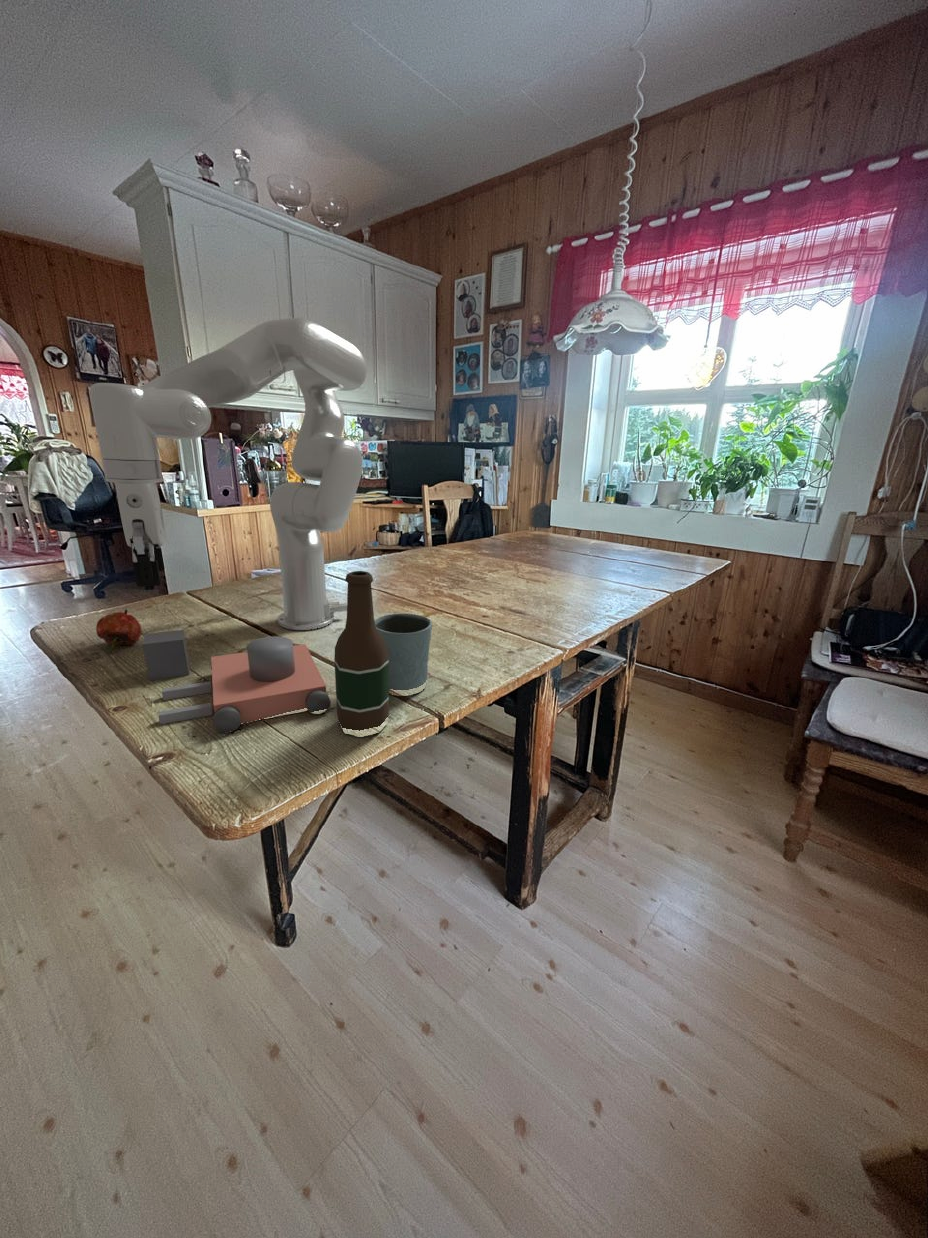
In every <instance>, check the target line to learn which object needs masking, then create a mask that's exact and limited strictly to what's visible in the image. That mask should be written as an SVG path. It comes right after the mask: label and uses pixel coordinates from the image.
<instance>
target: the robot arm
mask: <svg viewBox="0 0 928 1238" xmlns="http://www.w3.org/2000/svg"><path fill="white" fill-rule="evenodd" d="M290 371H292V372H293V375H294V378H295V381H296V382H297V385H298V387H299V389H300V391H301V394H302V397H303V401H304V416H303V419H302V423H301V425H300V427H299V428H300V429H299V432H298V435H297V438H296V441H295V445H294V447H293V451H292V454H291V467H292V470H293V472H294V473H295V474H296V475H297V476H298V477H300V478H301V479H304V480H309V481H314V482H319V484H315V483H314V484H313V483H308V482H297V481H290V482H284V483H281V484H280V485H278V486H277V487H275V488H274V489H273V490H272V491H273V492H272V493H271V496H270V499H269V507H270V508H269V509H270V513H271V517H272V521H273V523H274V527H275V531H276V535H277V536H276V537H277V543H278V554H279V564H280V565H279V566H280V577H281V578H280V579H281V587H282V599H283V613H281V614H280V615H279V616H277V623H278V625H279V626H280V627H281V628H285V629H287V630H293V631H310V630H311V629H312V630H317V628H318V629H321V627H322V628H325V627H327V626H329V625H331V624H333V622H334V621H335V615H334V614H335V613H336V612H337V613H338V612H340V613H341V612H342V613H343V612H347V602H346V603H340V602H339V601H334V602H329V601H328V599H327V588H326V573H325V572H326V571H325V570H326V569H325V568H326V567H325V550H324V543H323V540H322V537H321V534H320V532H322V533H335V532H337V531H340V530H341V529H342V528H343V527H344V526H345V524H346V522H347V520H348V519H349V515H350V512H351V510H352V506H353V504H354V500H355V498H356V494H357V491H358V488H359V484H360V481H361V478H362V477H361V476H362V474H363V468H364V467H363V464H364V463H363V455H362V452H361V450H360V448H359V445H358V444H357V443H356V442H355V441H353V440H352V439H350V438H347V437H345V436H342V435H343V431H344V427H345V415H344V410H343V409H342V406H341V403H340V401H339V399H338V397H337V395H336V392H337V391H339V392H341V391H347V392H348V391H354V390H357V389H359V388H360V387H361V386H362V385H363V384H364V383H365V381H366V378H367V371H368V370H367V363H366V360H365V357H364V355H363V354H362V352H361V351H360V349H359V348H358V347H356V346H355V345H354V344H352V342H350V341H348V340H346V339H345V338H343V337H341V336H340V335H338V334H336V333H335V332H332V331H331V330H329V329H328V328H326V327H324V326H322V325H320V324H319V323H317V322H314V321H312V320H309V319H307V318H303V317H291V318H284V319H283V318H282V319H272V320H267V321H265V322H264V321H263V322H262V323H260V324H258V325H256V326H255V327H253V328H251V329H250V330H248V331H246V332H244V333H243V334H242V335H240V336H239V337H237V338H235V339H233V340H232V341H229V342H228V343H227V344H225V345H223V346H221V347H220V348H218V349H216V350H213V351H211V352H209V353H207V354H204V355H202V356H199V357H198V358H195V359H194V360H191V361H189V362H186V363H184V364H181V365H179V366H177V367H175V368H173V369H171V370H168V371H166V372H164V373H162V374H160V375H158V376H157V377H155V378H153V379H152V380H150V381H149V382H147V383H145V384H144V385H141V386H136V385H131V384H125V383H114V382H97V383H93V384H92V385H91V386H90V388H89V392H88V395H89V400H90V405H91V411H92V417H93V421H94V425H95V427H94V428H95V431H96V437H97V443H98V447H99V452H100V457H101V463H102V468H103V472H104V479H105V482H107V483H108V482H109V483H114V484H115V485H114V486H115V490H116V491H115V492H116V497H117V503H118V508H119V513H120V519H121V523H122V529H123V533H124V537H125V542H126V545H127V546H128V547H130V548H131V555H132V567H133V573H134V578H135V584H136V586H137V587H138V588H140V587H141V588H143V587H157V586H160V585H161V584H162V583H161V577H160V572H163V571H164V570H165V563H164V558H163V557H164V556H163V551H162V546H164V545H165V542H166V540H167V532H166V525H165V521H164V518H163V517H164V516H163V511H162V505H161V499H160V495H159V490H158V486H157V483H162V482H164V479H163V473H162V467H161V460H160V452H159V447H158V440H157V438H159V439H173V440H182V441H183V440H185V441H186V440H194V439H195V440H196V439H198V438H200V437H202V436H204V435H205V434H206V433H207V432H208V431H209V429H210V427H211V424H212V413H211V411H210V408H211V407H217V406H219V405H226V404H231V403H237V402H240V401H243V400H245V399H248V398H251V397H253V396H254V395H255V394H257V393H258V392H260V391H261V390H262V389H263V388H265V387H266V386H268V385H270V384H271V383H273V381H275V380H276V379H279V377H281V376H282V375H283V374H285V373H287V372H290ZM335 391H336V392H335ZM333 620H334V621H333ZM330 623H331V624H330ZM328 624H329V625H328ZM324 626H325V627H324Z"/></svg>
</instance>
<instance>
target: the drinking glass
mask: <svg viewBox="0 0 928 1238" xmlns="http://www.w3.org/2000/svg"><path fill="white" fill-rule="evenodd" d="M374 620H375V625H376V629H377V630H378V632H379V633H380V634H381V636H382V637H383V638H384V641H385V643H386V646H387V649H388V659H389V689H393V690H409V689H413V688H417V687H419V686H421V685H423V684H424V683H425V682H426V680H427V681H428V673H429V672H428V670H429V669H428V667H429V666H428V665H429V660H430V658H429V654H430V646H431V645H430V644H431V639H432V637H431V636H432V631H433V630H432V628H433V622H432V620H430V619H429V618H428V617H426V616H424V615H423V616H422V615H419V614H415V613H414V614H413V613H393V614H385V615H382V616H380V617H378V618H376V619H374Z"/></svg>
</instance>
